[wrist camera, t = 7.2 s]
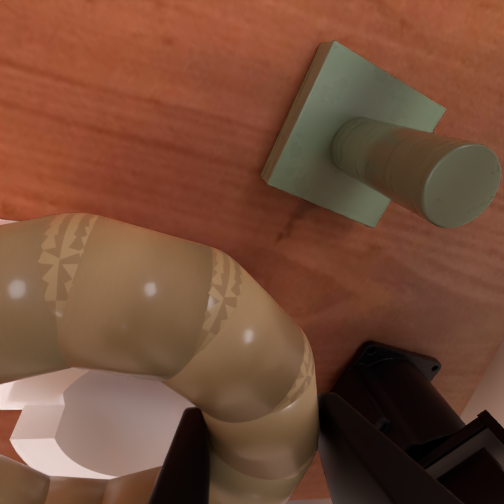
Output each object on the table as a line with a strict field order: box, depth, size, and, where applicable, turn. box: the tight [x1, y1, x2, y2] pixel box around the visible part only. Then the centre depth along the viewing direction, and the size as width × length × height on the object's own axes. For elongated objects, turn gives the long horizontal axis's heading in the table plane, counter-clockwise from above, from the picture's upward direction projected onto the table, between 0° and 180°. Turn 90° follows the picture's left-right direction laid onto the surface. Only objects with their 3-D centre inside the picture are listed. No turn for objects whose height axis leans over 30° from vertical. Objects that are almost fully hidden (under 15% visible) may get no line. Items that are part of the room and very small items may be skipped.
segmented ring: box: [0, 212, 320, 504], centre depth 7 cm, size 9×9×2 cm
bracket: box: [0, 219, 196, 479], centre depth 15 cm, size 20×9×7 cm, turn 78°
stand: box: [260, 41, 501, 228], centre depth 14 cm, size 6×6×8 cm
